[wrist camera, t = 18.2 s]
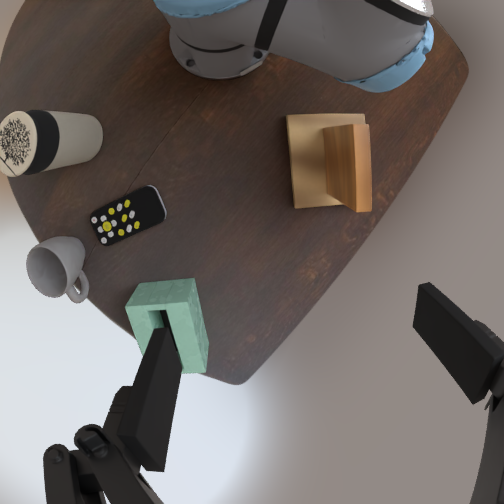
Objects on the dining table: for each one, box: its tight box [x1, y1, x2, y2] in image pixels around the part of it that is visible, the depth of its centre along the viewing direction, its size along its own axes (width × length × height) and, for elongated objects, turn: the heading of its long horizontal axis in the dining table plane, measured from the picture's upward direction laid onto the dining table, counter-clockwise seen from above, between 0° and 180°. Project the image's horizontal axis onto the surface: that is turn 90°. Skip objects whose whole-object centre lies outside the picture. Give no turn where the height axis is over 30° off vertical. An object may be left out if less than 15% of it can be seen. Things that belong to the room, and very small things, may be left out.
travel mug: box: [0, 110, 103, 177], centre depth 31 cm, size 8×8×18 cm
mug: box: [26, 236, 89, 303], centre depth 42 cm, size 12×9×10 cm
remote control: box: [90, 185, 166, 246], centre depth 43 cm, size 6×13×2 cm, turn 110°
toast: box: [323, 124, 372, 212], centre depth 36 cm, size 2×10×12 cm, turn 6°
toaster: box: [125, 278, 209, 374], centre depth 48 cm, size 10×16×8 cm, turn 6°
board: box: [286, 114, 365, 209], centre depth 42 cm, size 14×12×2 cm
